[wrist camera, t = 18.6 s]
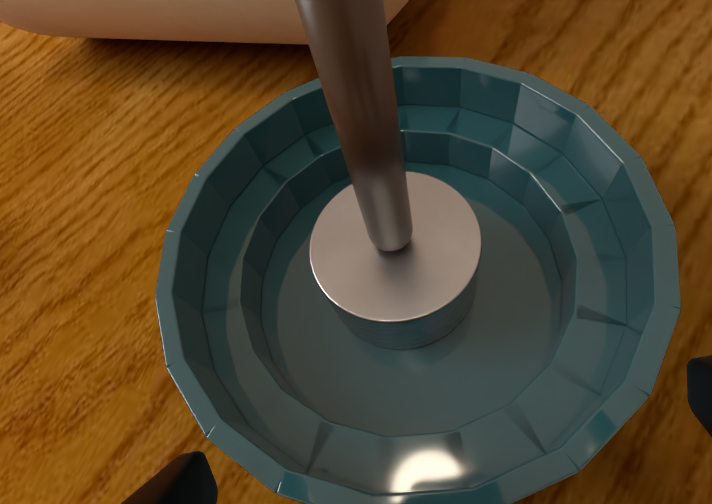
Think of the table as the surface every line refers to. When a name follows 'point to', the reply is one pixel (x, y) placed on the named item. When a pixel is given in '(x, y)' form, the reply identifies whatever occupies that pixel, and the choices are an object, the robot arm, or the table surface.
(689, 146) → the table surface
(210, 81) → the table surface
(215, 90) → the table surface
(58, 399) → the table surface
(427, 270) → the silver joystick
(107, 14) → the candle
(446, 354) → the bowl
